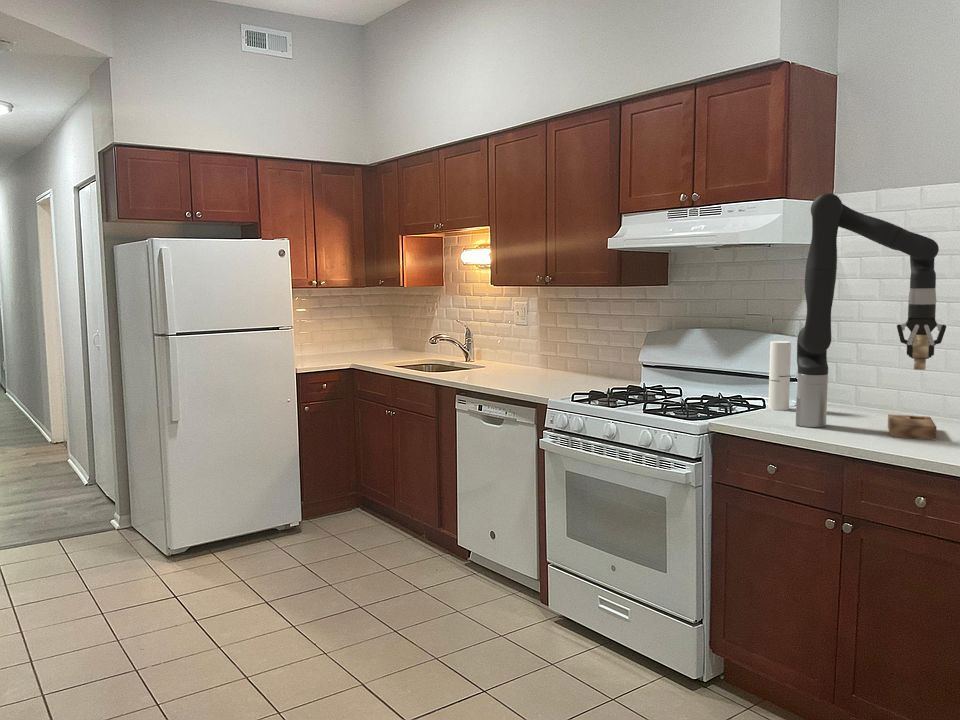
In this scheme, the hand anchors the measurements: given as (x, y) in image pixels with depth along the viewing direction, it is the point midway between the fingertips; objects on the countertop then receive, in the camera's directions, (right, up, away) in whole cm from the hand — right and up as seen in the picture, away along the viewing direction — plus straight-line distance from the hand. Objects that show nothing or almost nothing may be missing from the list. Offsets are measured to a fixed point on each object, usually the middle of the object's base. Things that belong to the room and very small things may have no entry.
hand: (919, 356), depth 247 cm
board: (-3, -24, 0) cm, 24 cm away
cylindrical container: (-27, -19, +45) cm, 56 cm away
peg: (0, -4, 0) cm, 4 cm away
